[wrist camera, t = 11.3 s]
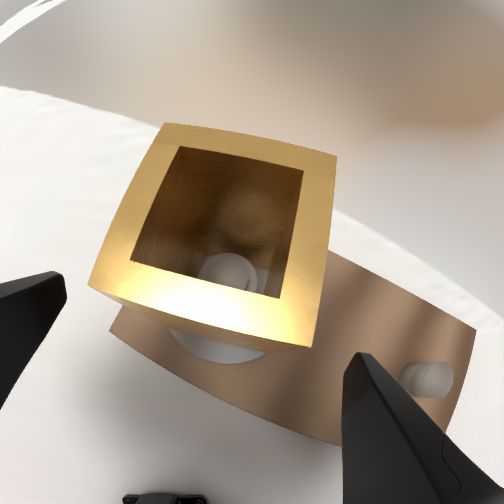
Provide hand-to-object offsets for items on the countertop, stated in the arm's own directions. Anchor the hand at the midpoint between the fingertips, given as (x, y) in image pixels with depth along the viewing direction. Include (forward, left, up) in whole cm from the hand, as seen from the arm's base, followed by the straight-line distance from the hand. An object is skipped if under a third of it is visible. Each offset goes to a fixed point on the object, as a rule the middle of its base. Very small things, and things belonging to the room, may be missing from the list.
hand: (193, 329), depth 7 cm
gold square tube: (+3, -1, -9) cm, 10 cm away
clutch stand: (-2, -7, -11) cm, 13 cm away
